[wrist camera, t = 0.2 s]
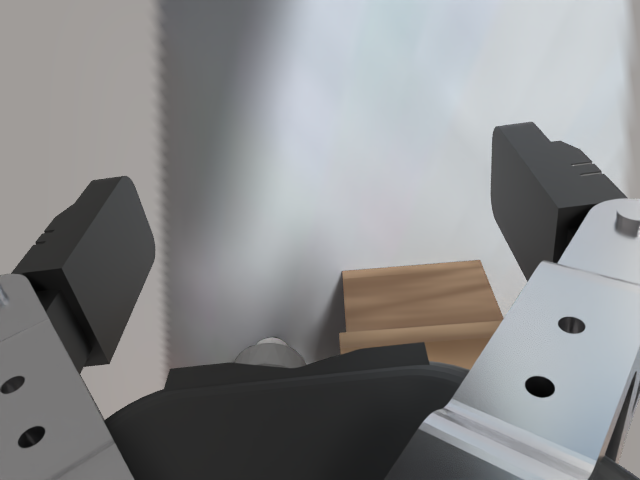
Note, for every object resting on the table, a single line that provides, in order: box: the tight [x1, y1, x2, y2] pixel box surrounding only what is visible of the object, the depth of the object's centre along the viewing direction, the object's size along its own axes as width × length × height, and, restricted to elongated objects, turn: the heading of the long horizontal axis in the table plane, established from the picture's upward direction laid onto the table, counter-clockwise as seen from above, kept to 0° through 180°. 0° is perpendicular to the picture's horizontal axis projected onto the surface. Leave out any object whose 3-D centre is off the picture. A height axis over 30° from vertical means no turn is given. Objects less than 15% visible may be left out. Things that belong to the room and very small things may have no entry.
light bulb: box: [235, 337, 306, 368], centre depth 35 cm, size 6×6×12 cm
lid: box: [339, 321, 502, 370], centre depth 32 cm, size 11×10×7 cm
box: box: [342, 260, 504, 332], centre depth 36 cm, size 10×9×6 cm
